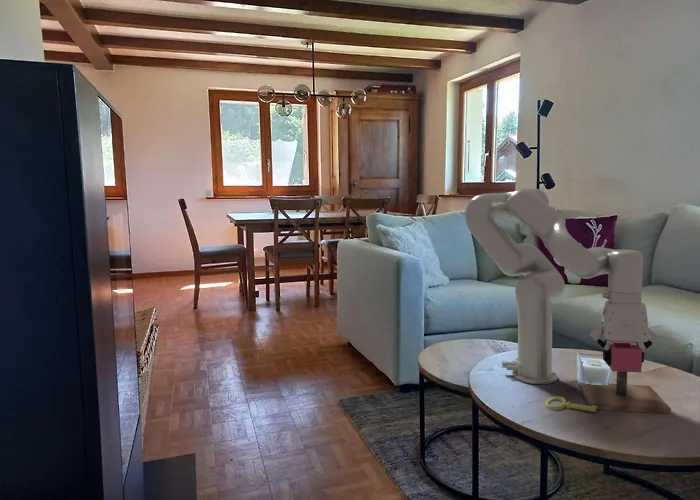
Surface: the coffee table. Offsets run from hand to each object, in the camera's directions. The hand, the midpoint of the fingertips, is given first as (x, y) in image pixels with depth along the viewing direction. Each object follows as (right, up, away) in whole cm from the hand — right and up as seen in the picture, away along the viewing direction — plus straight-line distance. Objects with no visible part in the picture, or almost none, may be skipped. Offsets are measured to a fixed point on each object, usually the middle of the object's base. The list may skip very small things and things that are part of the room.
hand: (622, 363), depth 125 cm
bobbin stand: (0, -10, +1) cm, 10 cm away
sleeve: (0, -1, 0) cm, 1 cm away
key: (-15, -11, -2) cm, 19 cm away
